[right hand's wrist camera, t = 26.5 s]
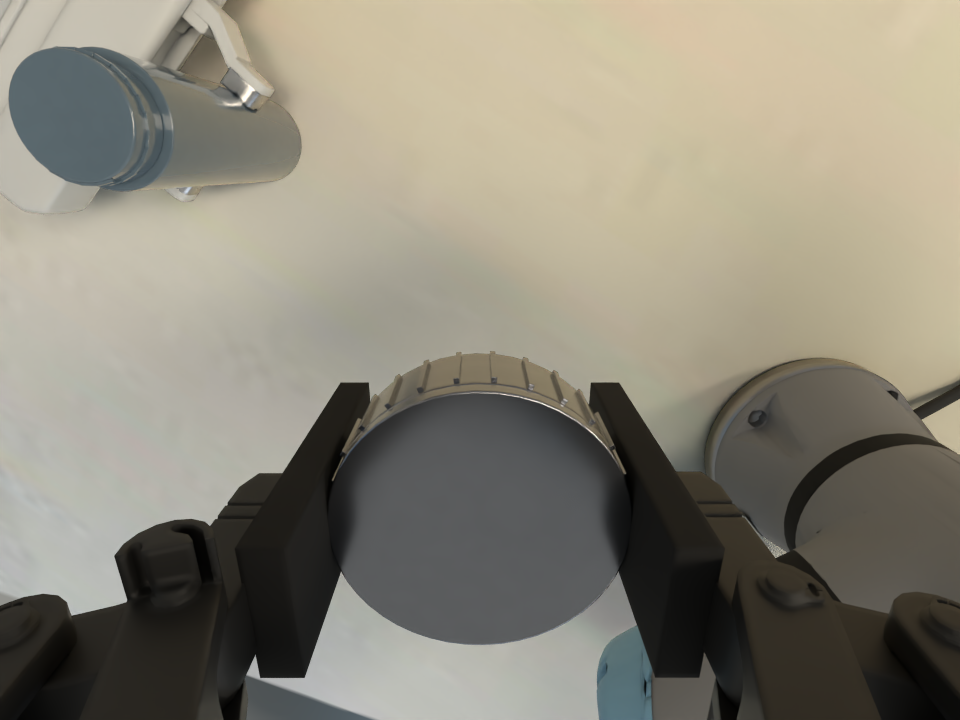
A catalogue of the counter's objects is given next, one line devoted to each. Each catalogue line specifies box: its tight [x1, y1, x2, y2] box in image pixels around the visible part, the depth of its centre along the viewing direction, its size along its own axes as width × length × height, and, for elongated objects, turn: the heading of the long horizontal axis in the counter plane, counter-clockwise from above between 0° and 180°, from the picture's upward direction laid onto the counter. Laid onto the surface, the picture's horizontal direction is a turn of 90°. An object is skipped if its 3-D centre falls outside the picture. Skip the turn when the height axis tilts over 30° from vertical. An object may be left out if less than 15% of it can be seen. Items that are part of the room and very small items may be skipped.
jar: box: [8, 46, 301, 192], centre depth 27 cm, size 5×5×17 cm
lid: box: [327, 351, 633, 645], centre depth 11 cm, size 6×6×2 cm
